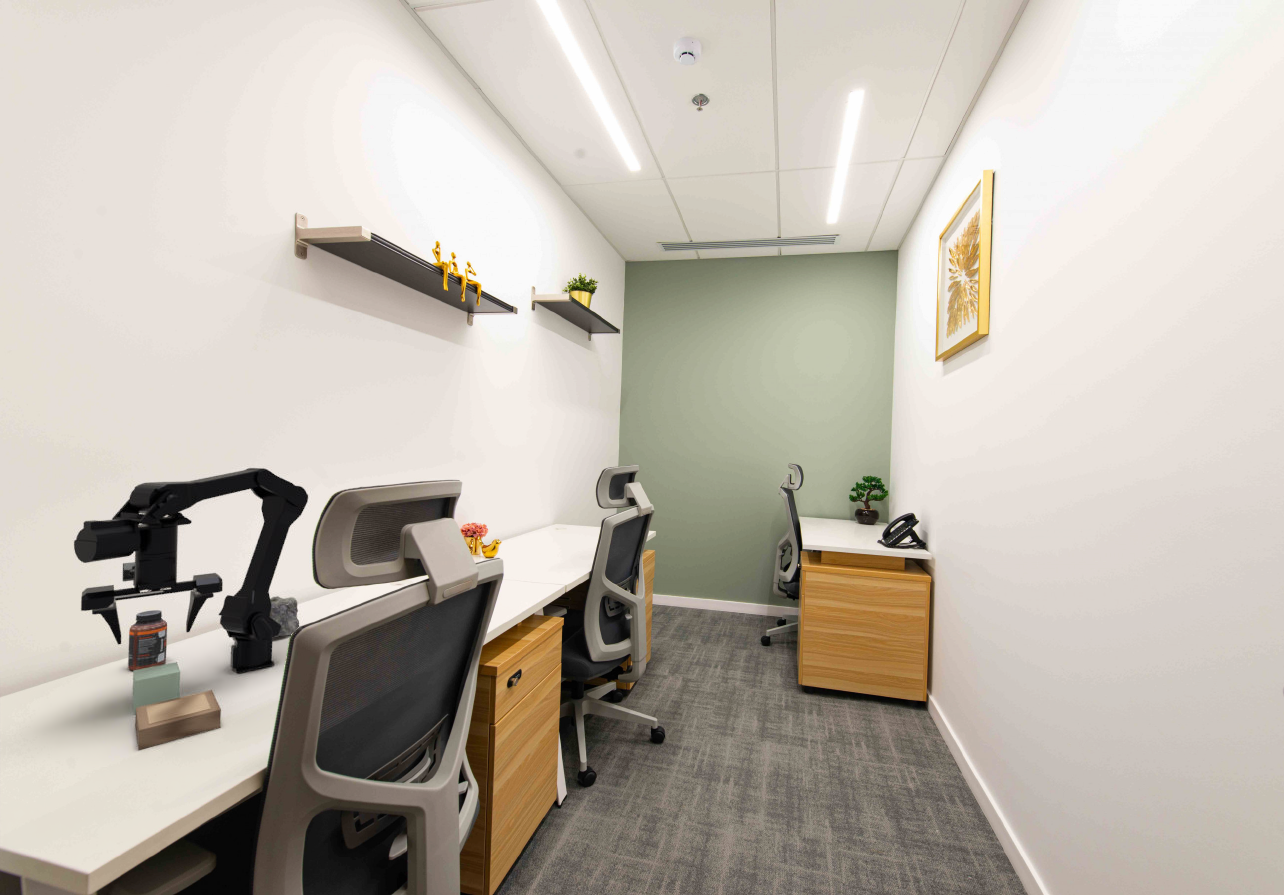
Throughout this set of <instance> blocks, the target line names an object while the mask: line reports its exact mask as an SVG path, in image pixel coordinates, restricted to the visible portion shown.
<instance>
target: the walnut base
mask: <svg viewBox="0 0 1284 895" xmlns="http://www.w3.org/2000/svg"><path fill="white" fill-rule="evenodd" d="M221 713H222V708H221V707H220V705H219V702H218V701H217V698H216V696H215V693H214V691H213V690H212V689H211V690H206V691H205V690H204V691H201V692H197V693H193V694H189V695H184V696H181V697H180V696H179V698H175V699H171V700H166V701H162V702H158V703H154V704H149V705H145V706H141V707H136V715H135V717H134V721H135V722H134V726H135V728H134V729H135V734H136V742H137V748H138V749H137V750H138V751H139V750H143V749H146V748H150V747H154V746H158V745H162V744H165V743H169V742H173V741H176V740H179V739H182V738H183V739H184V738H186V737H191V736H193V735H194V736H195V735H198V734H201V733H205V732H209V731H212V730H216V729H219V728H221V722H222V721H221V717H222V716H221V715H222V714H221Z"/></svg>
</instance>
